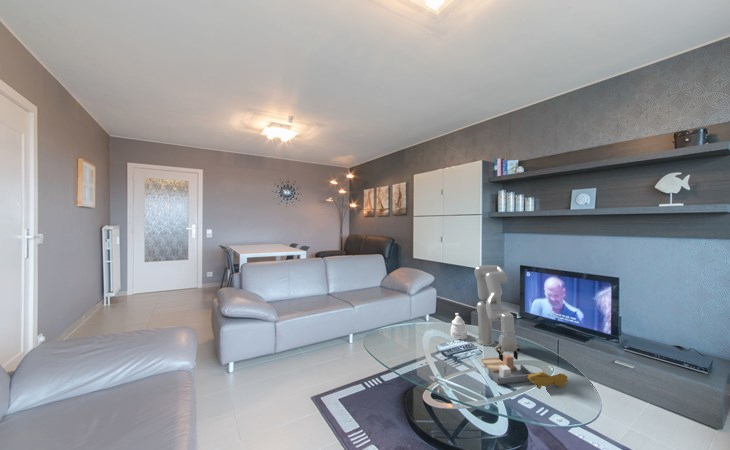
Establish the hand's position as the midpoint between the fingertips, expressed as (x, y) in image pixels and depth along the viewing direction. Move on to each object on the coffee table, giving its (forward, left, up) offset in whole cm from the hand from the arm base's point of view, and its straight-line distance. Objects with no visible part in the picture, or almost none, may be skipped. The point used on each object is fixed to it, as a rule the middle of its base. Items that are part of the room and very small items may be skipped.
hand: (508, 359), depth 185 cm
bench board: (-4, -4, -6) cm, 9 cm away
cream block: (+9, -8, -6) cm, 13 cm away
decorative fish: (+21, +11, -7) cm, 24 cm away
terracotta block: (-1, 0, -4) cm, 4 cm away
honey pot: (-51, -10, -7) cm, 53 cm away
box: (+9, -4, -6) cm, 12 cm away
